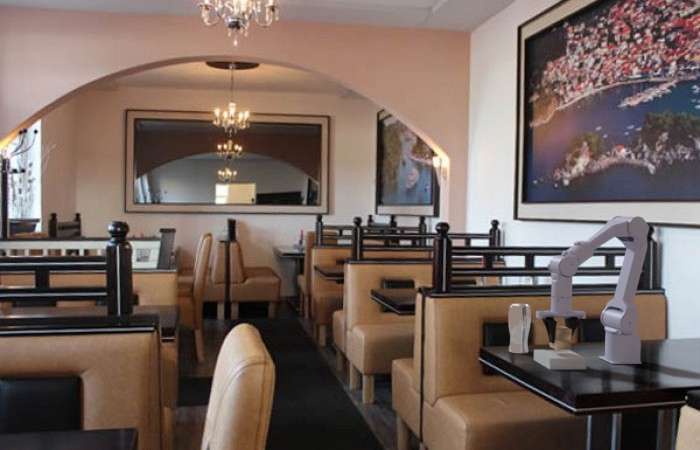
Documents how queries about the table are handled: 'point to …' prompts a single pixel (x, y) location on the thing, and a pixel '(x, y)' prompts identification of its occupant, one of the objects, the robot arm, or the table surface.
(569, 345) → the beech block
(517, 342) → the beer glass
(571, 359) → the ceramic box
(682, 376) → the table surface
